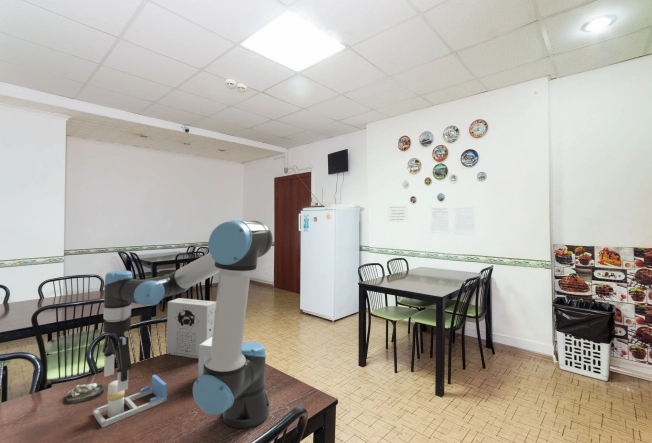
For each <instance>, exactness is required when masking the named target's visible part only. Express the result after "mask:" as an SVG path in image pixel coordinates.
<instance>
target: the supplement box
mask: <svg viewBox="0 0 652 443" xmlns="http://www.w3.org/2000/svg"><path fill="white" fill-rule="evenodd" d="M211 346H212V337H211V338H209V339H208V340H206V341H204V342H203V343H202V344H200V345H199V359H198V366H197V367H198V368H197V369H198V370H197V371H198V372H197V373H198V374H197V378H198V377H199V376H201V375H202V374H203V367H204V360H205V358H206V357H207V356H208V355H209V354H211Z"/></svg>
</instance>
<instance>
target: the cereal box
mask: <svg viewBox="0 0 652 443" xmlns="http://www.w3.org/2000/svg"><path fill="white" fill-rule="evenodd" d="M215 309H216V301H214V300H213V301H212V300H202V299H201V300H200V299H193V298H183V297H181V298H180V297H178V298H175V299H172V300H169V301H167V321H166V322H167V325H166V326H167V328H166V330H167V331H166V333H167V334H166V335H167V336H166V355H172V356H178V357H179V356H180V357H185V358H193V359H198V360H199V345H200V344H202V343H203V342H204V341H206V340H208V339H209V338H211V337H212V336H213V327H214V318H215ZM180 349H181V350H180ZM177 350H179V351H177ZM175 351H177V352H175ZM171 352H174V353H171ZM169 353H170V354H169Z"/></svg>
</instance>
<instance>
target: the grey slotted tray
mask: <svg viewBox="0 0 652 443" xmlns="http://www.w3.org/2000/svg"><path fill="white" fill-rule="evenodd" d="M150 394H153V395H155V396H154V397H152V398H150V399H149V402H146V403H143V404H142V405H138V406H137V405H136V404H135V403H134V402H133V401H135V400H137V399H140V398H143V397H146V396H148V395H150ZM167 397H168V383H166V382H165V381H164V380H162V379H161V377H160V376H158V375H157V374H153V375H151V386H150V385H148V386H145V387H143V388H141V389H139V391H138V392H136V393H134V394H132V395H129V396H126V397H124V405H126V406H127V407H128V409H129V410H126V411H124V412H123V413H121V414H119V415H116V416H114V417H111V418H109V417H108V418H107V419H105V417H103V415H102V414H101V413H104V412H108V403H107V404H104V405H102V406H100V407H99V406H98V407H97V408H94V409H93V410H92V415H93V417H94V418H95V419H96V420H97V422H98V424H99V425H100V427H101V428H103V429H104V428H105V427H108V426H109V425H110V426H111V425H112V424H115V423H118V422H120V421H121V420H124V419H126V418H130V417H131V416H134V415H136V414H139V413H141V412H143V411H145V410H149V409H150V408H153V407H155V406H158V405H160V404H162V403H165V402H167V400H168V398H167Z"/></svg>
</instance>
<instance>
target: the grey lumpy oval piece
mask: <svg viewBox="0 0 652 443" xmlns="http://www.w3.org/2000/svg"><path fill="white" fill-rule="evenodd" d="M104 392H105V387H104V385H103V384H97V383H96V382H93V383H89V382H88V384H81V385H80V384H77V385H76V386H74V387H73V388H72V389H71V390H69V391H68V392H67V393H66V394H67V396H66V397H65V403H66V404H67V405H70V404H78V403H82V402H87V401H91V400H94V399H96V398H98V397H100V396H102V395H103V394H104Z"/></svg>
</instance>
